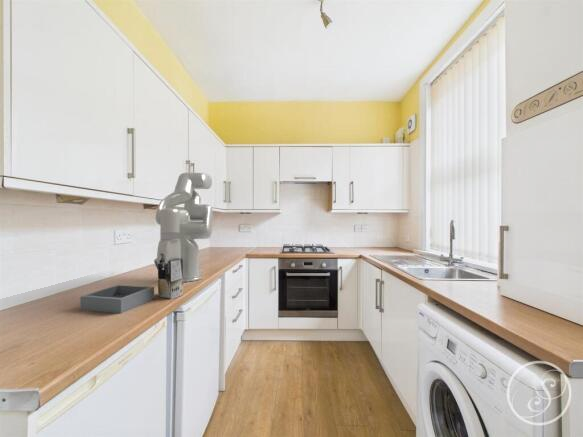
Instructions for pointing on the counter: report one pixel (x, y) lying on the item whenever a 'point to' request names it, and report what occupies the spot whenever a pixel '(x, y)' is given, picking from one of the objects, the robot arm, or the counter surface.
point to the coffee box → (172, 280)
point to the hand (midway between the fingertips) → (170, 276)
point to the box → (116, 298)
